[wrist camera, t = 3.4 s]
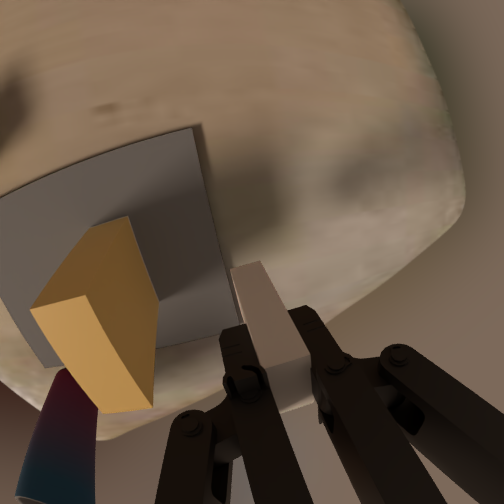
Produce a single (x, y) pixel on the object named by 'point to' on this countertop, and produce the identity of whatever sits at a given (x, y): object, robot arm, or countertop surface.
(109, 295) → the ochre slab
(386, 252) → the countertop surface
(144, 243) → the mat
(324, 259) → the countertop surface
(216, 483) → the robot arm
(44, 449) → the cup
